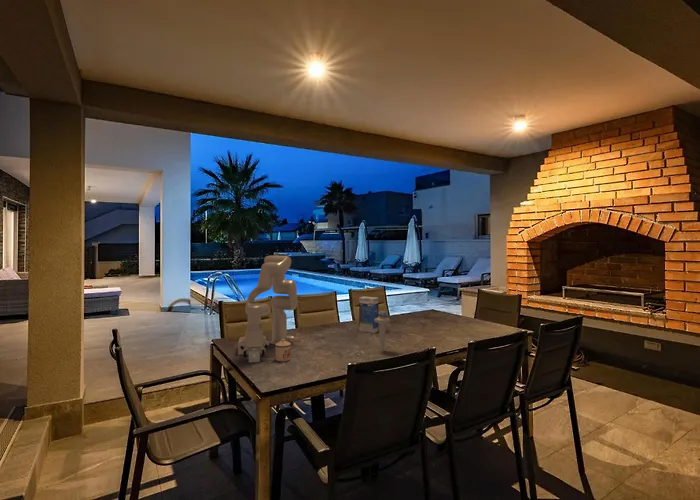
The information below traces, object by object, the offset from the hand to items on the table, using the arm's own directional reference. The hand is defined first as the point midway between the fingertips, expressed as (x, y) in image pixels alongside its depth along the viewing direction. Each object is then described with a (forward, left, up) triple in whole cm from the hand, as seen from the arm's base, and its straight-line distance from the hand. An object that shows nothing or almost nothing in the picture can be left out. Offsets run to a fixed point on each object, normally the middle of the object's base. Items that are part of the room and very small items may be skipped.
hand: (254, 356), depth 218 cm
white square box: (+2, -20, -2) cm, 20 cm away
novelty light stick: (-77, -3, -2) cm, 77 cm away
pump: (0, +1, -2) cm, 2 cm away
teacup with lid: (-17, 0, -2) cm, 17 cm away
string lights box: (-82, -55, -2) cm, 99 cm away
